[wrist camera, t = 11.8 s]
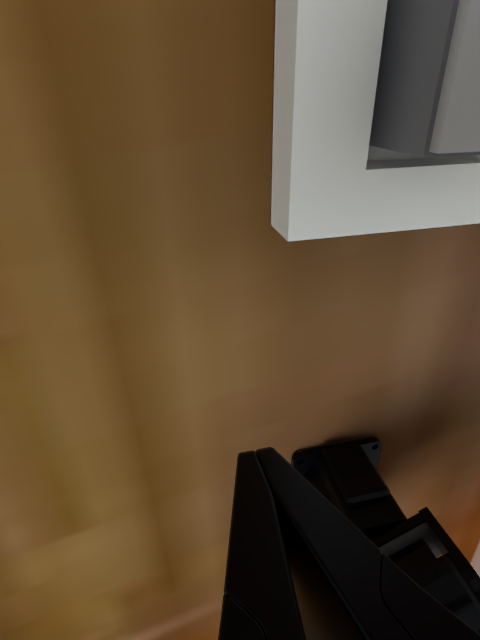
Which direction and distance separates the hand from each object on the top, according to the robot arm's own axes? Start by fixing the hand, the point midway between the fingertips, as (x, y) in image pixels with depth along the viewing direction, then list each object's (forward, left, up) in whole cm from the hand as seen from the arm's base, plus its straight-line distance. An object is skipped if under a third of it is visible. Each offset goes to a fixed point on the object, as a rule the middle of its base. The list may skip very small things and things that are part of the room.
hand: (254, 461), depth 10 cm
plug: (+8, -10, -11) cm, 17 cm away
